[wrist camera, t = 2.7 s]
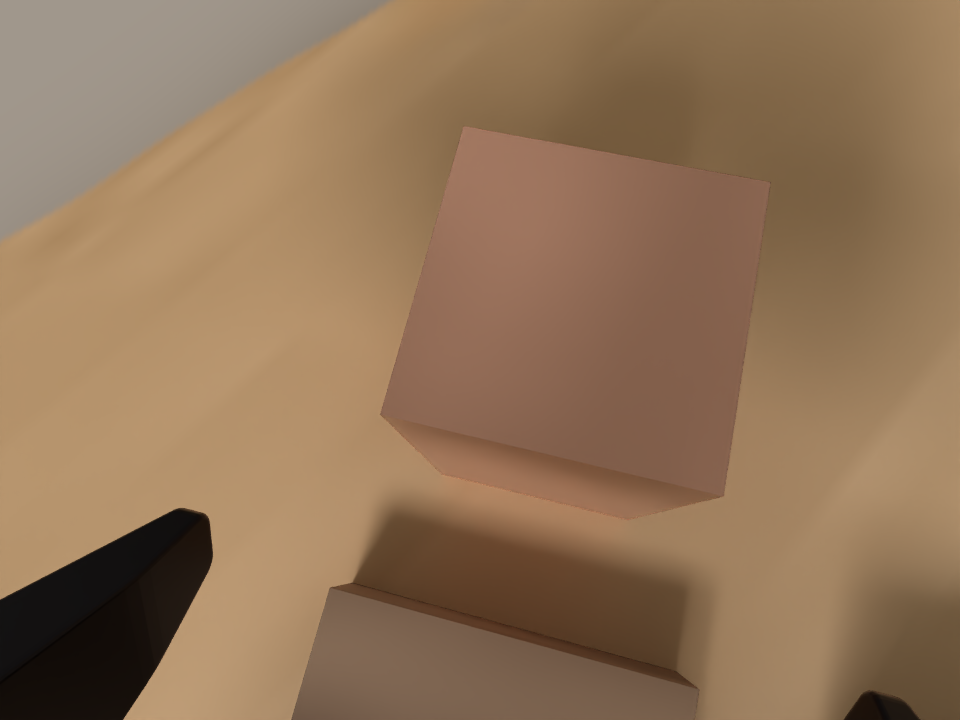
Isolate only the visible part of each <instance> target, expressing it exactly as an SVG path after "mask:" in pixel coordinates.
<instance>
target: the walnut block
mask: <svg viewBox="0 0 960 720" xmlns="http://www.w3.org/2000/svg"><path fill="white" fill-rule="evenodd" d="M698 694H699V689H698V688H697V687H695V686H694V685H693V684H692V683H690V682H689V681H688V680H686V679H685V678H684V677H683V676H681V675H680V674H679V673H677V672H676V671H672V670H669V669H665V668H661V667H658V666H654V665H650V664H647V663H643V662H639V661H636V660H632V659H629V658H625V657H621V656H618V655H614V654H610V653H607V652H603V651H599V650H596V649H592V648H588V647H585V646H581V645H577V644H574V643H570V642H566V641H563V640H559V639H555V638H552V637H548V636H544V635H541V634H537V633H533V632H530V631H526V630H523V629H519V628H515V627H512V626H508V625H504V624H501V623H497V622H493V621H490V620H486V619H482V618H479V617H475V616H471V615H468V614H464V613H460V612H457V611H453V610H449V609H446V608H442V607H438V606H435V605H431V604H427V603H424V602H420V601H416V600H413V599H409V598H406V597H402V596H398V595H395V594H391V593H387V592H384V591H380V590H376V589H373V588H369V587H365V586H362V585H358V584H354V583H350V584H345V585H340V586H336V587H331V588H330V589H329V593H328V596H327V600H326V603H325V607H324V610H323V613H322V617H321V620H320V624H319V627H318V630H317V634H316V637H315V641H314V644H313V648H312V651H311V654H310V658H309V661H308V665H307V668H306V671H305V675H304V678H303V682H302V685H301V689H300V692H299V695H298V699H297V702H296V706H295V709H294V712H293V716H292V719H291V720H695V714H696V708H697V701H698Z"/></svg>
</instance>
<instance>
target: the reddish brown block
mask: <svg viewBox="0 0 960 720" xmlns="http://www.w3.org/2000/svg"><path fill="white" fill-rule="evenodd" d="M770 183H771V182H767V181H762V180H756V179H751V178H745V177H740V176H734V175H729V174H723V173H718V172H712V171H707V170H701V169H696V168H690V167H685V166H680V165H674V164H669V163H663V162H658V161H652V160H647V159H641V158H636V157H630V156H625V155H619V154H614V153H608V152H603V151H598V150H592V149H587V148H581V147H576V146H570V145H565V144H559V143H554V142H548V141H543V140H537V139H532V138H526V137H521V136H515V135H510V134H505V133H499V132H494V131H488V130H483V129H477V128H472V127H466V126H464V127H463V130H462V134H461V137H460V140H459V144H458V147H457V151H456V154H455V158H454V161H453V165H452V168H451V172H450V175H449V179H448V182H447V185H446V189H445V192H444V196H443V199H442V203H441V206H440V210H439V213H438V217H437V220H436V223H435V227H434V230H433V234H432V237H431V241H430V244H429V248H428V251H427V255H426V258H425V262H424V265H423V268H422V272H421V275H420V279H419V282H418V286H417V289H416V293H415V296H414V300H413V303H412V306H411V310H410V313H409V317H408V320H407V324H406V327H405V331H404V334H403V338H402V341H401V344H400V348H399V351H398V355H397V358H396V362H395V365H394V369H393V372H392V376H391V379H390V383H389V386H388V389H387V393H386V396H385V400H384V403H383V407H382V410H381V414H380V415H381V416H382V417H383V418H384V419H385V420H386V421H387V422H388V423H389V424H390V425H391V426H392V427H393V428H394V429H396V430H397V431H398V432H399V433H400V434H401V435H402V436H403V437H404V438H405V439H406V440H407V441H408V442H409V443H410V444H411V445H412V446H413V447H414V448H415V449H416V450H417V451H418V452H419V453H420V454H421V455H422V456H423V457H424V458H425V459H426V460H427V461H428V462H429V463H431V464H432V465H433V466H434V467H435V468H436V469H437V470H438V471H439V472H440V473H441V474H442V475H446V476H451V477H455V478H459V479H463V480H467V481H471V482H475V483H479V484H483V485H487V486H491V487H495V488H499V489H503V490H508V491H512V492H516V493H520V494H524V495H528V496H532V497H536V498H540V499H544V500H548V501H552V502H556V503H560V504H564V505H569V506H573V507H577V508H581V509H585V510H589V511H593V512H597V513H601V514H605V515H609V516H613V517H617V518H621V519H625V520H630V519H634V518H638V517H642V516H646V515H650V514H654V513H658V512H662V511H666V510H670V509H674V508H678V507H682V506H686V505H690V504H695V503H699V502H703V501H707V500H711V499H715V498H719V497H723V496H724V491H725V484H726V477H727V470H728V464H729V457H730V450H731V444H732V437H733V430H734V424H735V417H736V410H737V404H738V397H739V390H740V384H741V377H742V370H743V364H744V357H745V350H746V343H747V337H748V330H749V323H750V317H751V310H752V303H753V297H754V290H755V283H756V277H757V270H758V263H759V257H760V250H761V243H762V237H763V230H764V223H765V216H766V210H767V203H768V196H769V190H770Z"/></svg>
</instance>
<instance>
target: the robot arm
mask: <svg viewBox="0 0 960 720" xmlns="http://www.w3.org/2000/svg"><path fill="white" fill-rule="evenodd" d="M212 558H213V549H212V539H211V530H210V521H209V518H208V517H207V515H206V514H204V513H201V512H197V511H194V510H190V509H186V508H178V509H175V510H173V511H171V512H169V513H167V514H165V515H163V516H161V517H159V518H157V519H155V520H153V521H151V522H149V523H148V524H146V525H144V526H142V527H140V528H138V529H136V530H134V531H132V532H130V533H128V534H126V535H124V536H122V537H120V538H118V539H117V540H115V541H113V542H111V543H109V544H107V545H105V546H103V547H101V548H99V549H97V550H95V551H93V552H91V553H89V554H88V555H86V556H84V557H82V558H80V559H78V560H76V561H74V562H72V563H70V564H68V565H66V566H64V567H62V568H60V569H58V570H57V571H55V572H53V573H51V574H49V575H47V576H45V577H43V578H41V579H39V580H37V581H35V582H33V583H31V584H29V585H28V586H26V587H24V588H22V589H20V590H18V591H16V592H14V593H12V594H10V595H8V596H6V597H4V598H2V599H0V720H123V719H124V717H125V716H126V714H127V713H128V711H129V710H130V708H131V707H132V705H133V704H134V702H135V701H136V699H137V698H138V696H139V695H140V693H141V692H142V690H143V689H144V687H145V686H146V684H147V683H148V681H149V679H150V678H151V676H152V675H153V673H154V672H155V670H156V668H157V667H158V665H159V663H160V661H161V659H162V658H163V656H164V654H165V652H166V650H167V648H168V647H169V645H170V643H171V641H172V639H173V637H174V635H175V633H176V631H177V630H178V628H179V626H180V624H181V622H182V620H183V618H184V616H185V615H186V613H187V611H188V609H189V607H190V605H191V603H192V601H193V599H194V598H195V596H196V594H197V592H198V590H199V588H200V586H201V584H202V582H203V581H204V579H205V577H206V575H207V573H208V571H209V569H210V566H211V563H212ZM844 720H920V718H919V717H918V716H917V715H916V714H915V712H914V711H913V710H912V709H911V707H910V706H909V705H908V704H907V703H906V702H904V701H903V700H902V699H900V698H898V697H895V696H891V695H887V694H884V693H880V692H876V691H870V690H869V691H867V692H864V693H863V694H862V695H861V696H860V698H859V699H858V700H857V702H856V703H855V705H854V706H853V707H852V709H851V710H850V712H849V713H848V714H847V716H846V717H845V719H844Z"/></svg>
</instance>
